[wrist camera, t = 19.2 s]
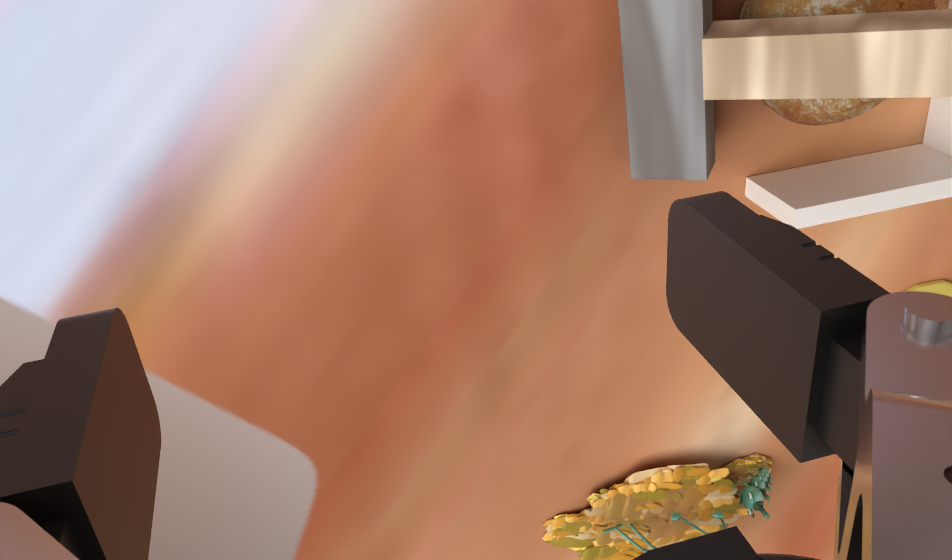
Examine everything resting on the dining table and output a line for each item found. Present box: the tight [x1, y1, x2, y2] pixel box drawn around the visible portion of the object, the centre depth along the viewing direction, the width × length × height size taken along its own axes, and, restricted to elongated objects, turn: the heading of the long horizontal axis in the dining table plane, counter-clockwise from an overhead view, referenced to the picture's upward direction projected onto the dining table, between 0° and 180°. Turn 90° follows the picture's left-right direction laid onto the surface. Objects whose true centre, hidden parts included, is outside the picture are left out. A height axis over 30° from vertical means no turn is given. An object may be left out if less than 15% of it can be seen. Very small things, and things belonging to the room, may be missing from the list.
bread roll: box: [739, 0, 935, 126], centre depth 44 cm, size 10×10×8 cm
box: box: [745, 0, 952, 229], centre depth 44 cm, size 13×18×5 cm
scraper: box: [618, 0, 952, 181], centre depth 39 cm, size 3×12×18 cm
